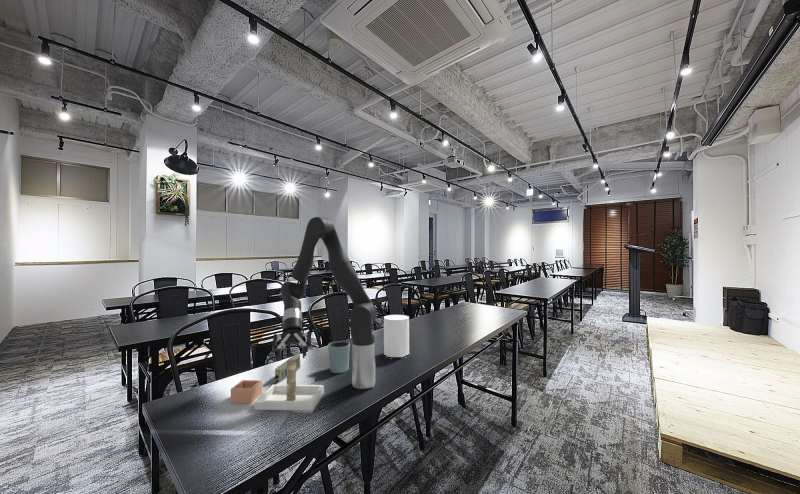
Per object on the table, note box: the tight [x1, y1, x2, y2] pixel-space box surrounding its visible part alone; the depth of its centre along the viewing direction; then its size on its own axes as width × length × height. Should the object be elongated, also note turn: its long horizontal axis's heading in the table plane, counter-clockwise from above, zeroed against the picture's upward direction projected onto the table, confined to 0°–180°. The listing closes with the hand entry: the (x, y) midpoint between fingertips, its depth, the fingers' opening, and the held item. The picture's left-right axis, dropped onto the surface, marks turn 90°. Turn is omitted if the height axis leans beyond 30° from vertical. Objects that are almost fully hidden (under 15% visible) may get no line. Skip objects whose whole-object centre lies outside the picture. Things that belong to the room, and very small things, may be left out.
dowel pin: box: [286, 359, 297, 401], centre depth 110 cm, size 3×3×14 cm
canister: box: [383, 314, 410, 357], centre depth 163 cm, size 14×14×20 cm
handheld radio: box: [268, 353, 301, 389], centre depth 132 cm, size 7×3×25 cm
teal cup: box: [327, 340, 351, 374], centre depth 141 cm, size 10×10×12 cm
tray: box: [253, 383, 325, 414], centre depth 110 cm, size 20×14×4 cm
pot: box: [230, 379, 263, 404], centre depth 111 cm, size 8×8×6 cm
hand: (291, 358), depth 114 cm, fingers open, 8 cm apart
